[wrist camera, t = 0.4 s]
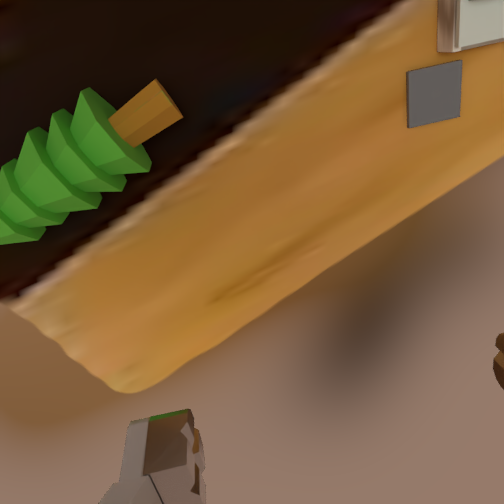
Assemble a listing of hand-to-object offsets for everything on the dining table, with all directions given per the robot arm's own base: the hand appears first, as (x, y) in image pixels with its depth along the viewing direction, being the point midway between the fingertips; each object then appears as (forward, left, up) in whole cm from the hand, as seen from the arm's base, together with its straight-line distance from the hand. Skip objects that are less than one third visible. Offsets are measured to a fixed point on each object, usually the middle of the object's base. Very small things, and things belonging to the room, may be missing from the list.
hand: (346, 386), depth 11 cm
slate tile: (+3, +27, -46) cm, 54 cm away
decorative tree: (+1, -20, -47) cm, 50 cm away
